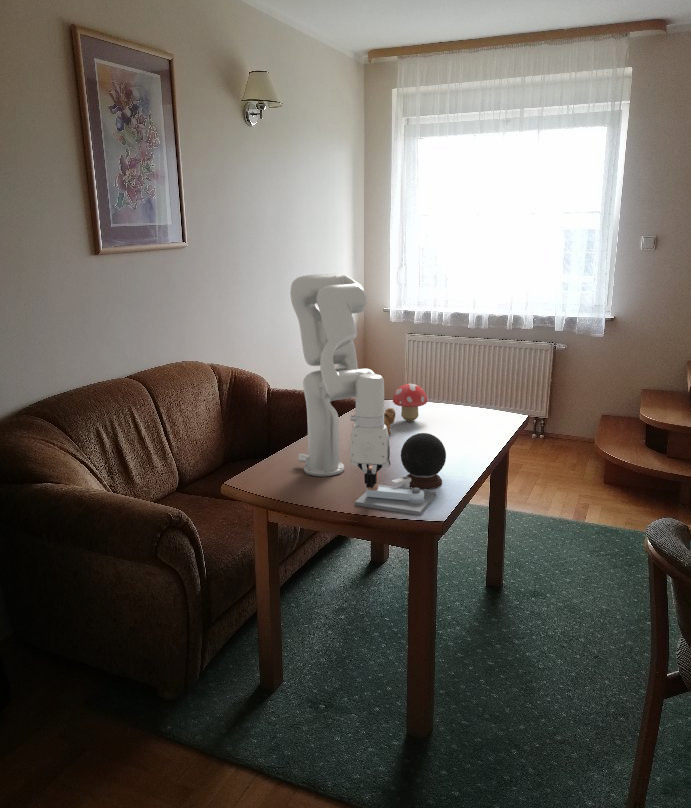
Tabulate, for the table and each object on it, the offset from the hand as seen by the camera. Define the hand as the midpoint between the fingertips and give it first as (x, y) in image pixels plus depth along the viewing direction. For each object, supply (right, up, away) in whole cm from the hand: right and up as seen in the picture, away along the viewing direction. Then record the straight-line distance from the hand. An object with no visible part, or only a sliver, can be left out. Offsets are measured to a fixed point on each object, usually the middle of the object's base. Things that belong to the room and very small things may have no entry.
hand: (370, 486), depth 183 cm
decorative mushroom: (+18, +15, +81) cm, 85 cm away
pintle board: (+7, -4, +3) cm, 9 cm away
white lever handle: (+7, -3, +2) cm, 8 cm away
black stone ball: (+16, -1, +16) cm, 23 cm away
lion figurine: (+6, +11, +66) cm, 67 cm away
